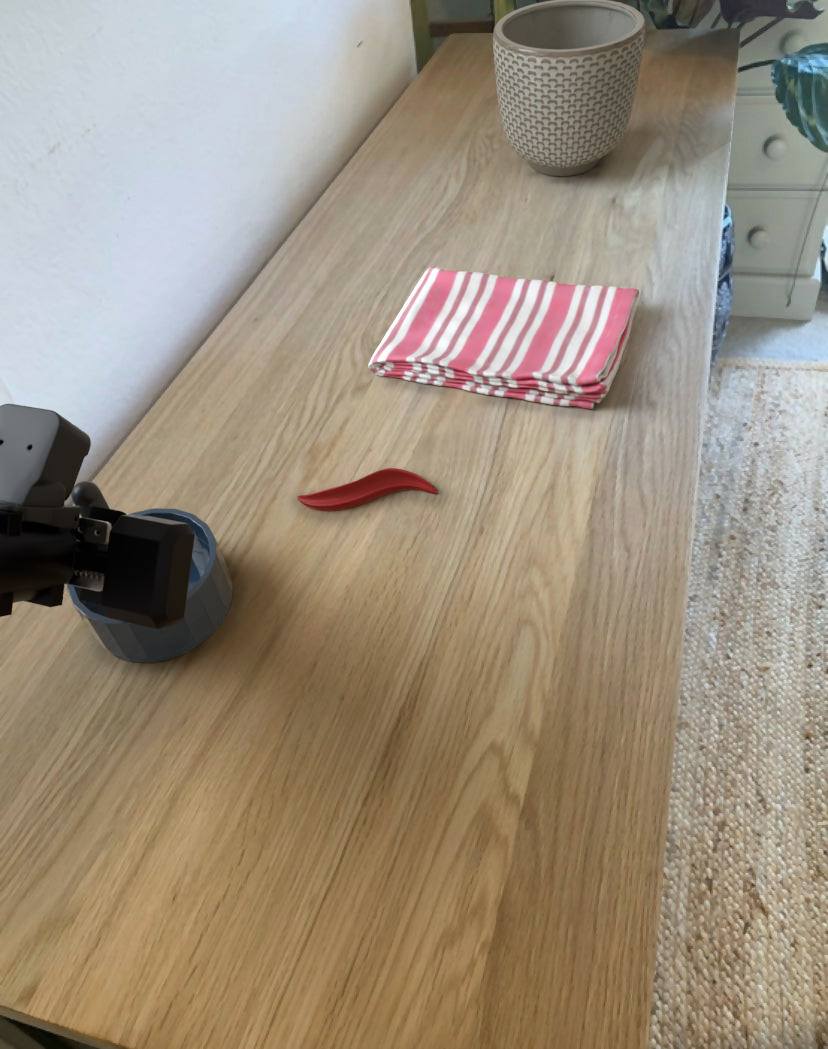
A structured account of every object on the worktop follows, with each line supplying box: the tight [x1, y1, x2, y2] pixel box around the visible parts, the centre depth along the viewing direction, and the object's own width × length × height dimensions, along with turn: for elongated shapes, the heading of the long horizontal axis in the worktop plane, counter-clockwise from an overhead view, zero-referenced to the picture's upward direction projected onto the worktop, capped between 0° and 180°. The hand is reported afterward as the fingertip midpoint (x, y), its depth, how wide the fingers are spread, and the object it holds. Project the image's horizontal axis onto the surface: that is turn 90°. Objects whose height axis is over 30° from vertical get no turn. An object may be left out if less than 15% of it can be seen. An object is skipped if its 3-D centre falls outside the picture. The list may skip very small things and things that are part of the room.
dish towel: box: [367, 266, 640, 410], centre depth 84 cm, size 17×23×4 cm
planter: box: [492, 0, 646, 177], centre depth 103 cm, size 17×17×16 cm
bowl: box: [66, 507, 234, 664], centre depth 65 cm, size 11×11×5 cm
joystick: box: [70, 480, 111, 518], centre depth 60 cm, size 4×4×14 cm
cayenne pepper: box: [296, 467, 438, 512], centre depth 72 cm, size 12×5×2 cm, turn 82°
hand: (129, 541), depth 60 cm, fingers closed on joystick, 2 cm apart
